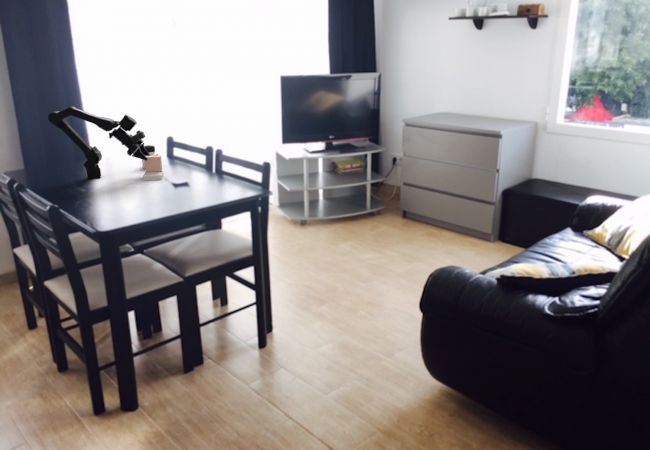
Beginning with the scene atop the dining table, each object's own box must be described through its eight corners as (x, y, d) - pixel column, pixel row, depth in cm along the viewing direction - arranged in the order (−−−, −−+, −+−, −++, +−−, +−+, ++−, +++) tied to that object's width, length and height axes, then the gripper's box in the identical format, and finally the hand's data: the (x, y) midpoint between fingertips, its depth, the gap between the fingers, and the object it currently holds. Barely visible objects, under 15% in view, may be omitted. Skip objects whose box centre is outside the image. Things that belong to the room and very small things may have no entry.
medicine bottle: (155, 168, 314) (153, 146, 311) (142, 168, 315) (140, 146, 311) (159, 165, 321) (157, 144, 317) (146, 165, 321) (144, 144, 318)
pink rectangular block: (146, 176, 295) (144, 157, 292) (147, 174, 299) (145, 155, 296) (161, 175, 296) (159, 156, 293) (162, 173, 300) (160, 155, 297)
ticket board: (143, 180, 287) (143, 175, 287) (146, 176, 295) (145, 171, 294) (161, 179, 289) (161, 174, 288) (163, 176, 296) (163, 171, 295)
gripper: (130, 129, 280) (156, 150, 285) (137, 123, 297) (160, 143, 302) (116, 145, 281) (141, 166, 286) (123, 139, 299) (147, 158, 304)
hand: (148, 158), depth 294 cm, fingers open, 9 cm apart
